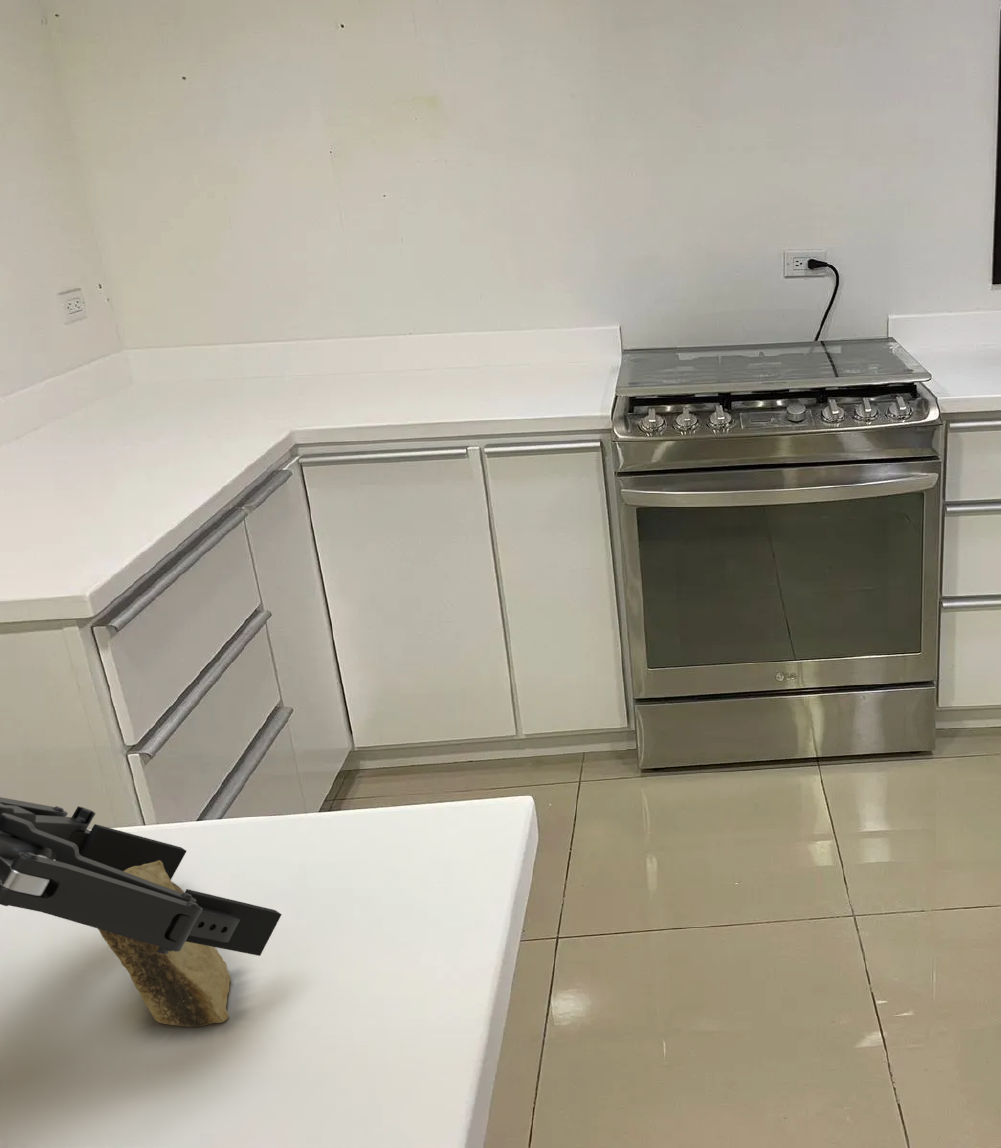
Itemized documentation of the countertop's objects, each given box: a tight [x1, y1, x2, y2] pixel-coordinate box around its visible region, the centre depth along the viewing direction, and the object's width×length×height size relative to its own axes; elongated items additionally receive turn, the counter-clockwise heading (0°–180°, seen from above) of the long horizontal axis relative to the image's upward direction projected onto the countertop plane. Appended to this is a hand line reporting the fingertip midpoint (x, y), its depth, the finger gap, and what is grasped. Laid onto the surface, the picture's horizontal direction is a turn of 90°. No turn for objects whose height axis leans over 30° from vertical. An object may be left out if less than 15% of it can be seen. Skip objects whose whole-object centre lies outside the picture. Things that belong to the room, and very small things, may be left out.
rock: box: [96, 860, 232, 1027], centre depth 73 cm, size 11×9×10 cm
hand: (218, 898), depth 74 cm, fingers open, 11 cm apart
